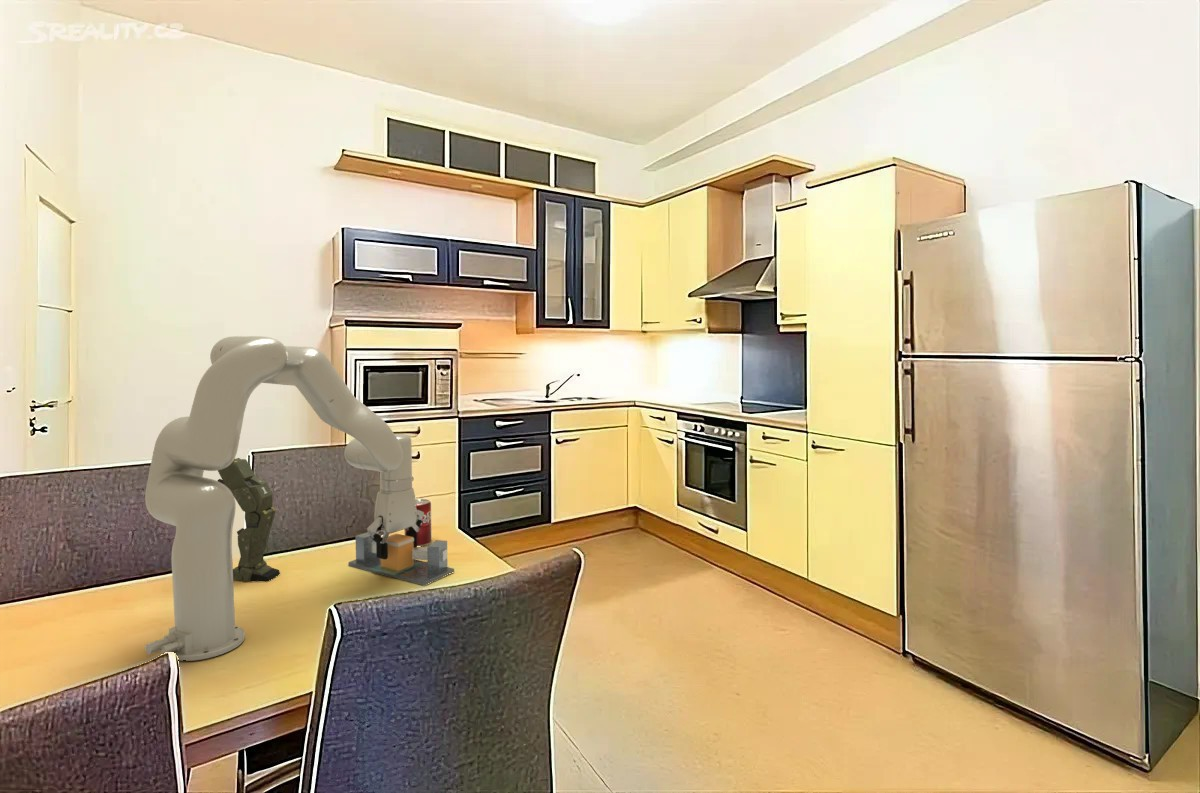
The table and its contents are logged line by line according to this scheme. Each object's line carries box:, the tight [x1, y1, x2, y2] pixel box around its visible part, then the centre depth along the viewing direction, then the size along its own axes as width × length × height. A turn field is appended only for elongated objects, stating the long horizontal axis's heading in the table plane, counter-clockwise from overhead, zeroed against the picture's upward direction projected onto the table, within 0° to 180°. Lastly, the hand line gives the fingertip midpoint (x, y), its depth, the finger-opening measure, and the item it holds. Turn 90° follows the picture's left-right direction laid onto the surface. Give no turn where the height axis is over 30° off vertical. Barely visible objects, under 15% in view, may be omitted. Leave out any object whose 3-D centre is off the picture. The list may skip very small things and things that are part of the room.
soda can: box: [403, 498, 433, 547], centre depth 180 cm, size 7×7×12 cm
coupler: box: [381, 533, 414, 571], centre depth 159 cm, size 5×6×7 cm
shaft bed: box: [348, 531, 455, 586], centre depth 160 cm, size 11×26×8 cm, turn 61°
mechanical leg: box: [217, 457, 281, 583], centre depth 153 cm, size 14×7×30 cm, turn 83°
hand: (397, 552), depth 159 cm, fingers open, 9 cm apart
